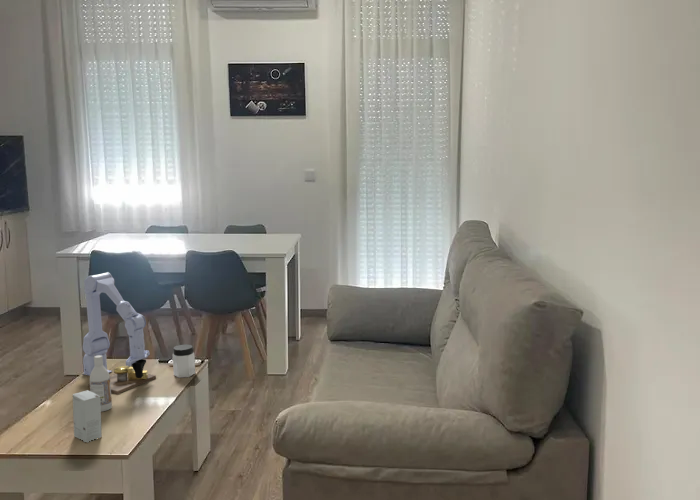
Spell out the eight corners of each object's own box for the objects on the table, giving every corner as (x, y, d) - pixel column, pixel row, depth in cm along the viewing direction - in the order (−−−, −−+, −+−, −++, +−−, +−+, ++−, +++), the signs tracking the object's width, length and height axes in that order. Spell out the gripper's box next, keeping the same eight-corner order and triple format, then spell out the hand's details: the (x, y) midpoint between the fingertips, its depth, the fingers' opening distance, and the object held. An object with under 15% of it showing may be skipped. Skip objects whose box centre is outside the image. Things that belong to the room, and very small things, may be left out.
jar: (198, 375, 277) (196, 347, 275) (180, 379, 272) (178, 351, 270) (188, 369, 284) (187, 342, 282) (171, 374, 279) (169, 346, 277)
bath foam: (113, 410, 241) (109, 357, 238) (92, 413, 238) (88, 360, 235) (111, 403, 247) (107, 352, 244) (91, 407, 244) (87, 355, 241)
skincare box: (73, 436, 219) (70, 394, 216) (90, 430, 223) (87, 389, 221) (86, 443, 213) (83, 400, 211) (103, 437, 218) (100, 394, 215)
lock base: (88, 386, 265) (87, 376, 264) (127, 372, 282) (126, 362, 281) (117, 394, 257) (117, 383, 256) (155, 378, 274) (155, 368, 273)
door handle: (112, 381, 266) (112, 370, 265) (116, 376, 272) (116, 366, 271) (145, 380, 267) (144, 369, 266) (148, 375, 273) (148, 364, 272)
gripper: (136, 350, 258) (138, 384, 260) (155, 340, 272) (157, 372, 274) (120, 350, 259) (122, 383, 261) (139, 339, 273) (142, 371, 275)
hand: (139, 377), depth 267 cm, fingers closed, pressing on door handle
